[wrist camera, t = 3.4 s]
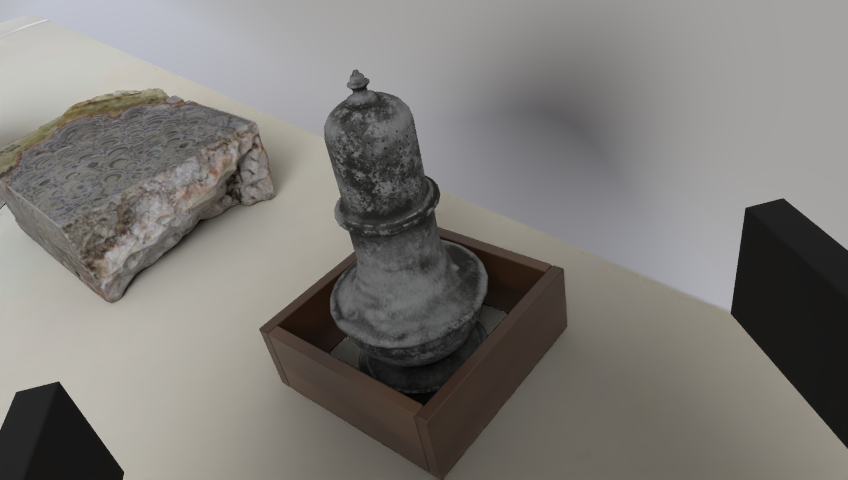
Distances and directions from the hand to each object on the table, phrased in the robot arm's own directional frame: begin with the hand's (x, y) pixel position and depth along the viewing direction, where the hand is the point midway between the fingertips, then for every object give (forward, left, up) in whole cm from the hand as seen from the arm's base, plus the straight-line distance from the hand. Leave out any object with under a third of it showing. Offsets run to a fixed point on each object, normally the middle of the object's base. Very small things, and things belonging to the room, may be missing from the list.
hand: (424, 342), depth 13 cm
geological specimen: (+29, -6, -10) cm, 32 cm away
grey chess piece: (+7, -6, -10) cm, 14 cm away
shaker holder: (+7, -6, -10) cm, 14 cm away
